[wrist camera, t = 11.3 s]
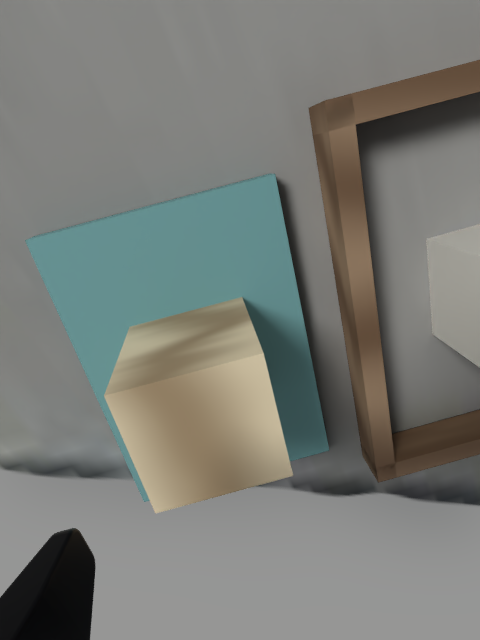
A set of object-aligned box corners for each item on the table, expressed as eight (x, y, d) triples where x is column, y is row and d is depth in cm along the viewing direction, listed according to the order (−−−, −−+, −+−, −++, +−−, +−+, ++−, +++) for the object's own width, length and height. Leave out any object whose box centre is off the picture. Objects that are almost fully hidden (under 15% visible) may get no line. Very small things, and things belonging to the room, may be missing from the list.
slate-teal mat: (34, 236, 16) (24, 240, 15) (270, 173, 16) (274, 174, 16) (146, 487, 22) (144, 501, 21) (323, 438, 22) (329, 450, 21)
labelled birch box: (242, 296, 17) (263, 353, 12) (266, 396, 19) (294, 480, 14) (129, 326, 17) (103, 395, 12) (166, 424, 19) (157, 518, 14)
